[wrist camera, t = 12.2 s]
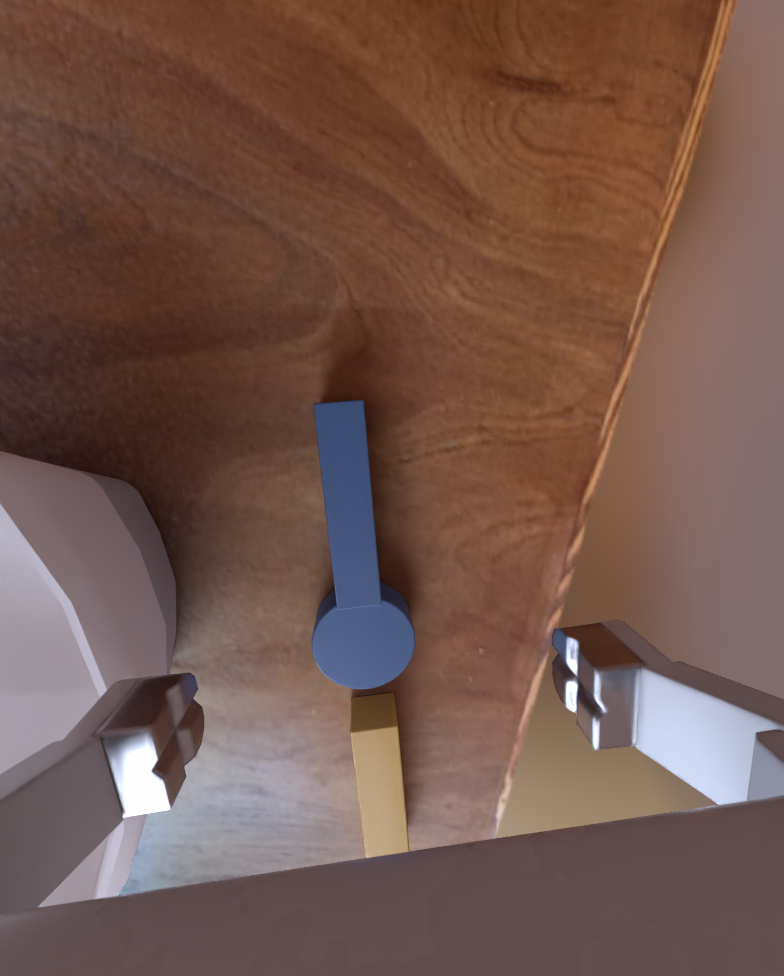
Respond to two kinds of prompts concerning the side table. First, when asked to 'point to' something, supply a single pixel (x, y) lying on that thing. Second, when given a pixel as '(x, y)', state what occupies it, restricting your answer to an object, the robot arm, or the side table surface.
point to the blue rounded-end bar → (355, 563)
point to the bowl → (77, 623)
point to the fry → (379, 774)
